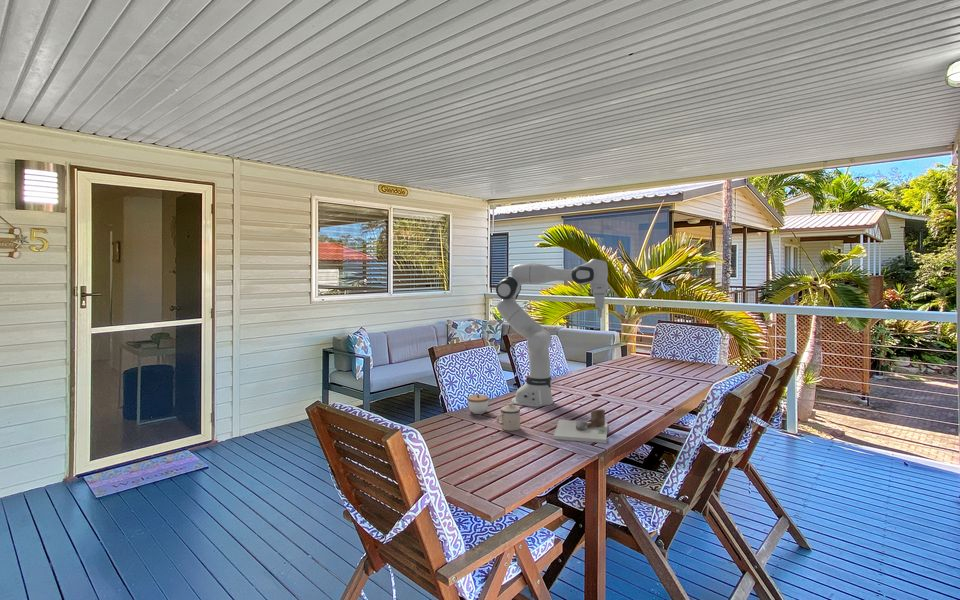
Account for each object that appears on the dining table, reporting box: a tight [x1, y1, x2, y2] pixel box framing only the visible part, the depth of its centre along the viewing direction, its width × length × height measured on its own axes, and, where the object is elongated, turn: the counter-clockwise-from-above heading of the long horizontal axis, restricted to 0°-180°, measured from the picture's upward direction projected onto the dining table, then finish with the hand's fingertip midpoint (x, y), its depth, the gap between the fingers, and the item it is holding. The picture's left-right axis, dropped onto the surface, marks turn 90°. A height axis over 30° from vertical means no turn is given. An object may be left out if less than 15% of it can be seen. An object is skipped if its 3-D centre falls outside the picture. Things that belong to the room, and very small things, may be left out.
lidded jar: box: [467, 393, 490, 415], centre depth 257 cm, size 11×11×9 cm
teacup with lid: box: [496, 402, 521, 432], centre depth 231 cm, size 12×9×12 cm
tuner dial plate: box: [553, 419, 608, 444], centre depth 225 cm, size 22×22×2 cm
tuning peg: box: [575, 408, 606, 430], centre depth 226 cm, size 14×5×7 cm, turn 109°
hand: (599, 317), depth 257 cm, fingers open, 8 cm apart
